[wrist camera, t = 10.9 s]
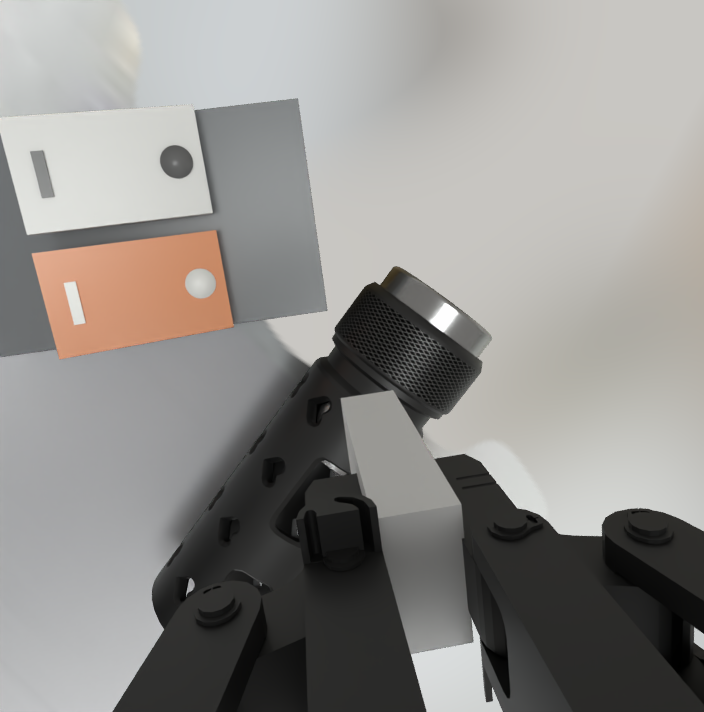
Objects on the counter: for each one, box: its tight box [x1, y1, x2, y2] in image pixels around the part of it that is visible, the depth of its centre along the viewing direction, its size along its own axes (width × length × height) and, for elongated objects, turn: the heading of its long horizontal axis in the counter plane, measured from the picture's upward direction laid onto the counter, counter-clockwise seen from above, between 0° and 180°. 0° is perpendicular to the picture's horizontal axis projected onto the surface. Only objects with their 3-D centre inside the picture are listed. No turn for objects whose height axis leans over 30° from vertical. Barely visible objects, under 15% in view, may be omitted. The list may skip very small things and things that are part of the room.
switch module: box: [0, 99, 327, 357], centre depth 36 cm, size 28×13×6 cm, turn 97°
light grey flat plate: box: [0, 104, 213, 235], centre depth 31 cm, size 10×6×1 cm, turn 97°
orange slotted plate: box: [32, 230, 234, 359], centre depth 33 cm, size 10×6×1 cm, turn 97°
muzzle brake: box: [152, 266, 492, 629], centre depth 39 cm, size 10×28×10 cm, turn 143°
